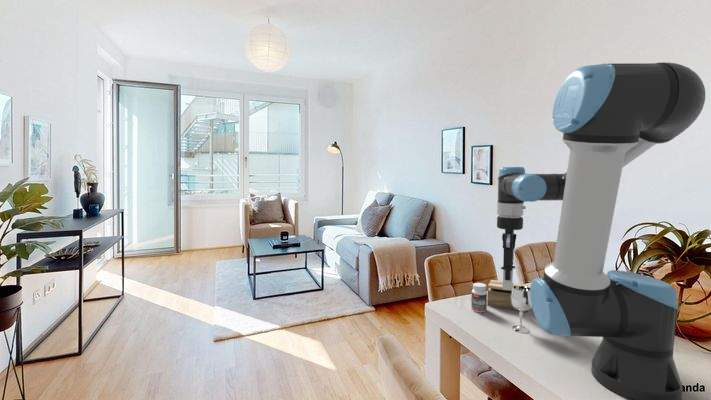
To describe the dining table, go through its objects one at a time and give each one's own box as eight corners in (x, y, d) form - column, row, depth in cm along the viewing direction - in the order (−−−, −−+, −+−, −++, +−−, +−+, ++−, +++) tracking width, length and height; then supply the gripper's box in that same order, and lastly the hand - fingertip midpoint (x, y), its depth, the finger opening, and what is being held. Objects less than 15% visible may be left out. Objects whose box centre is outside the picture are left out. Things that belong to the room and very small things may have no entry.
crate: (527, 311, 111) (528, 296, 111) (487, 305, 117) (487, 290, 116) (527, 301, 120) (528, 286, 120) (490, 295, 126) (491, 281, 125)
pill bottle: (471, 311, 112) (471, 286, 111) (470, 306, 116) (471, 281, 115) (487, 313, 110) (487, 287, 109) (486, 307, 115) (486, 283, 114)
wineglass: (505, 328, 100) (507, 287, 99) (515, 323, 104) (516, 283, 102) (526, 336, 96) (527, 293, 94) (535, 329, 99) (537, 288, 98)
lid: (528, 293, 111) (528, 290, 111) (487, 287, 116) (487, 285, 116) (528, 286, 120) (528, 284, 120) (491, 281, 125) (491, 279, 125)
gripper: (522, 219, 103) (519, 297, 105) (523, 214, 114) (521, 284, 117) (495, 218, 106) (492, 293, 108) (499, 212, 118) (496, 281, 120)
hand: (507, 288), depth 112 cm, fingers closed
